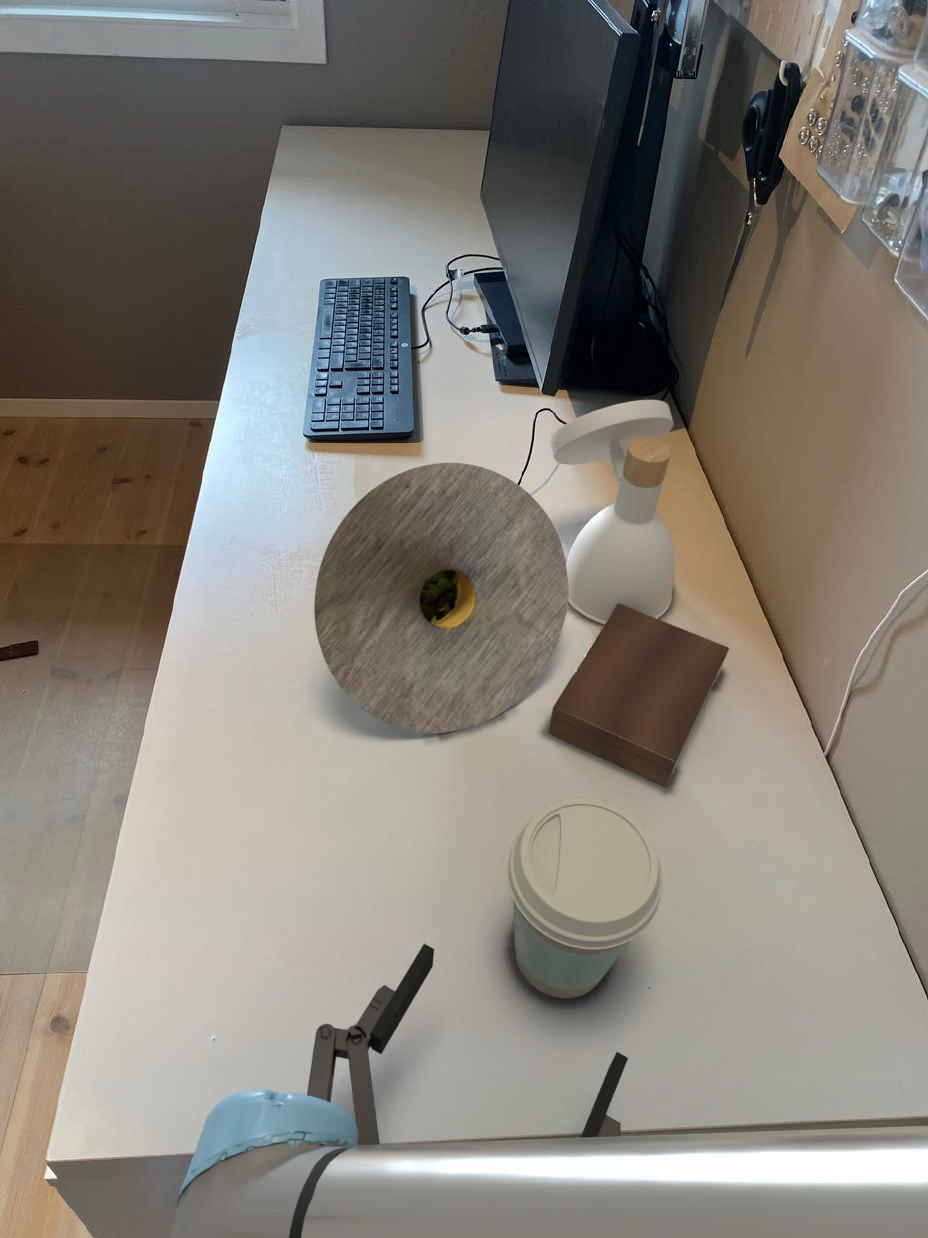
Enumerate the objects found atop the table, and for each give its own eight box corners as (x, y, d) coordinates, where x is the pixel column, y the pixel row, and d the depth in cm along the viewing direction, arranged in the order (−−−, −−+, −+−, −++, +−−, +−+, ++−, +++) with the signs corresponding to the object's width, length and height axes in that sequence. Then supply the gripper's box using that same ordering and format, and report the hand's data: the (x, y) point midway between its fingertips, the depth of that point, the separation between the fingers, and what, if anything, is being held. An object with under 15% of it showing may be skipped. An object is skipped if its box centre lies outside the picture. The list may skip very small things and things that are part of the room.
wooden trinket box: (719, 673, 93) (729, 647, 90) (666, 787, 83) (676, 762, 80) (611, 629, 96) (617, 602, 93) (547, 733, 86) (552, 707, 83)
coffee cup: (546, 865, 76) (570, 762, 66) (654, 947, 72) (699, 851, 61) (465, 958, 71) (477, 861, 60) (576, 1053, 66) (611, 967, 55)
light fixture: (563, 647, 102) (636, 617, 83) (519, 471, 104) (579, 402, 85) (664, 624, 105) (756, 591, 86) (618, 454, 107) (698, 384, 88)
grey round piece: (550, 658, 102) (480, 447, 98) (618, 678, 85) (537, 425, 81) (344, 744, 96) (260, 523, 92) (373, 784, 80) (272, 516, 76)
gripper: (151, 1253, 51) (358, 938, 64) (550, 1556, 44) (691, 1130, 57) (122, 1224, 46) (354, 888, 59) (572, 1565, 38) (722, 1092, 52)
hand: (520, 1006), depth 58 cm, fingers open, 13 cm apart
